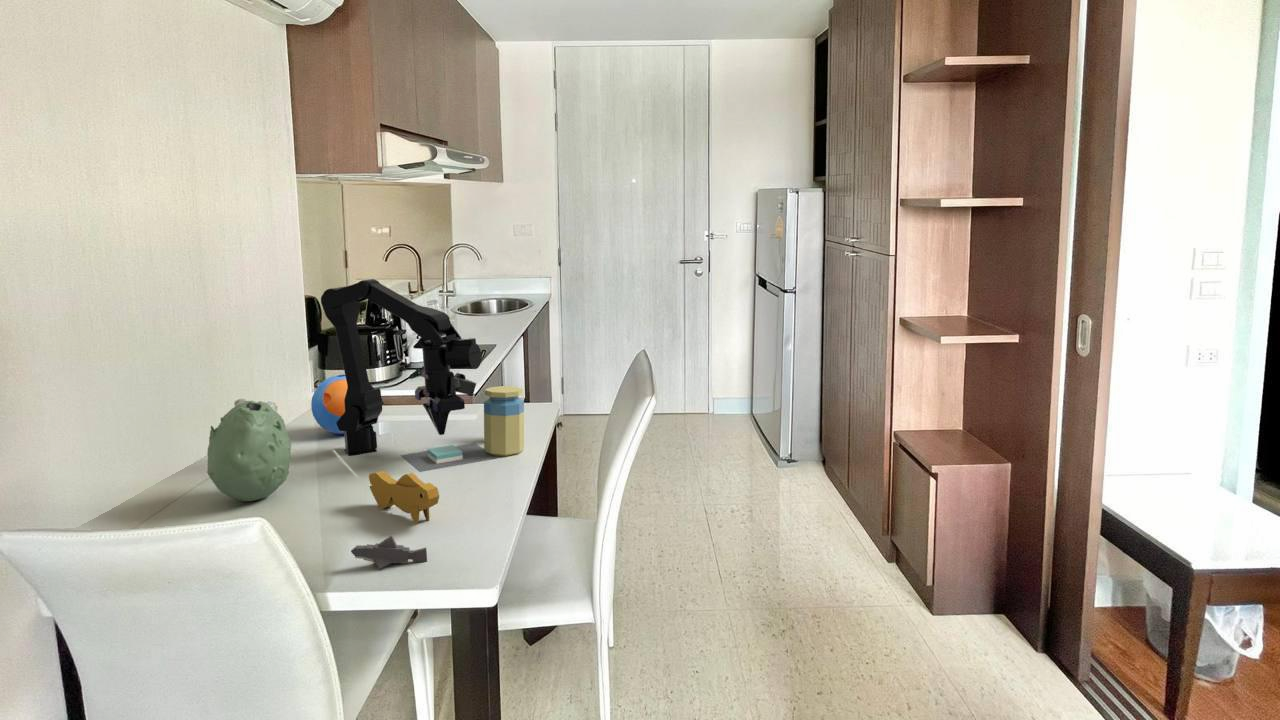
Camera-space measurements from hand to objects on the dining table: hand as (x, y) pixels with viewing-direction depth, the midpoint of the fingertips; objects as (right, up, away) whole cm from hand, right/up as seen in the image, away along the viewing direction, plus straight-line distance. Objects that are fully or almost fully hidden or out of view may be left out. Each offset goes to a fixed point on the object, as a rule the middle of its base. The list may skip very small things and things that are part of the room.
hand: (441, 434), depth 203 cm
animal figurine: (+5, -16, -60) cm, 62 cm away
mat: (+2, -6, +1) cm, 6 cm away
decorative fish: (+1, -12, -37) cm, 39 cm away
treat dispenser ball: (-31, -2, +28) cm, 42 cm away
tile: (-1, -4, +2) cm, 5 cm away
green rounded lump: (-32, -11, -24) cm, 42 cm away
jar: (+14, -5, +3) cm, 15 cm away
